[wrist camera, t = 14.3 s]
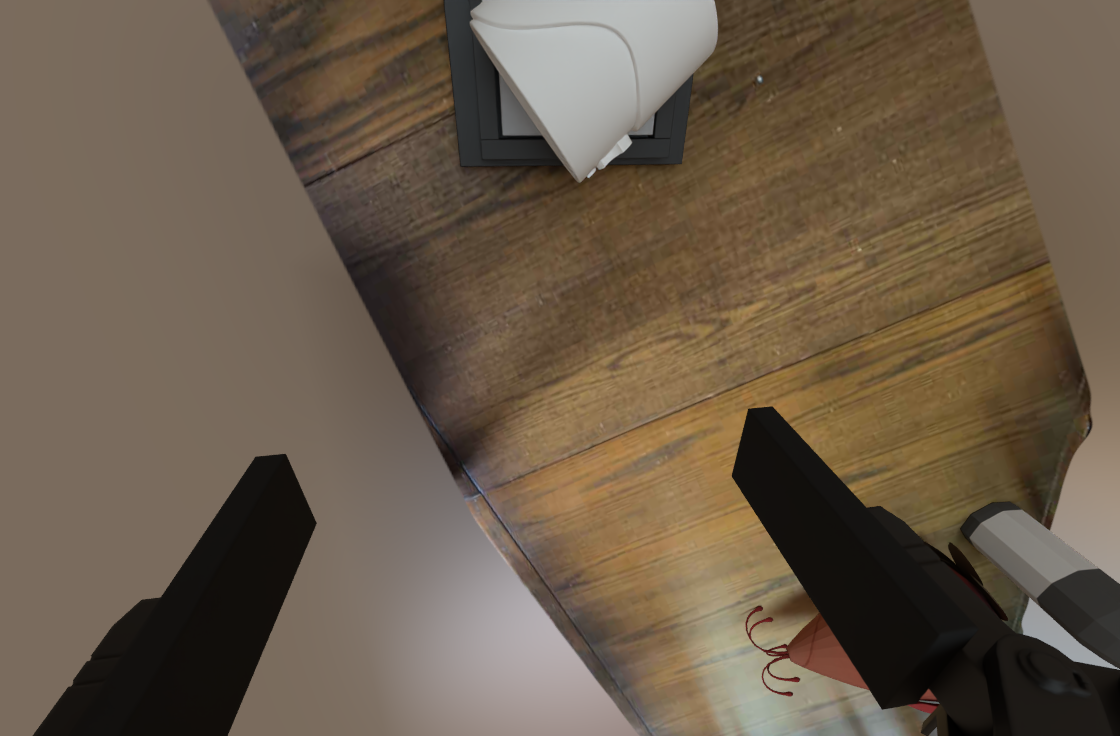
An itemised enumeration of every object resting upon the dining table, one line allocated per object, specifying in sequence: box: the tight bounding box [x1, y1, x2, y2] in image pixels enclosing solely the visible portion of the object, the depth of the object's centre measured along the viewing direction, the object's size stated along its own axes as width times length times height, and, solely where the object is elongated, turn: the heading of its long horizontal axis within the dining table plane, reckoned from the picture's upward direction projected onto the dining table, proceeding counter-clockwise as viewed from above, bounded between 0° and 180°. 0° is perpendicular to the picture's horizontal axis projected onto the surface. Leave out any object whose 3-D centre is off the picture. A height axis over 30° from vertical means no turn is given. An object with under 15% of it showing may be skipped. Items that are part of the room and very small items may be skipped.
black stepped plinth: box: [444, 0, 693, 167], centre depth 28 cm, size 16×14×3 cm
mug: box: [470, 0, 718, 183], centre depth 23 cm, size 12×9×8 cm
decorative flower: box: [746, 541, 1008, 713], centre depth 60 cm, size 22×23×30 cm
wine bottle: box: [961, 502, 1120, 669], centre depth 52 cm, size 8×8×30 cm
